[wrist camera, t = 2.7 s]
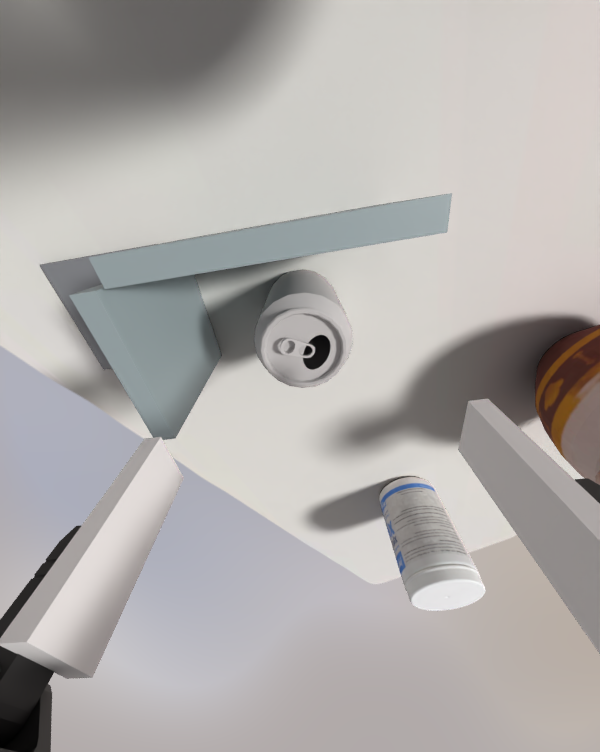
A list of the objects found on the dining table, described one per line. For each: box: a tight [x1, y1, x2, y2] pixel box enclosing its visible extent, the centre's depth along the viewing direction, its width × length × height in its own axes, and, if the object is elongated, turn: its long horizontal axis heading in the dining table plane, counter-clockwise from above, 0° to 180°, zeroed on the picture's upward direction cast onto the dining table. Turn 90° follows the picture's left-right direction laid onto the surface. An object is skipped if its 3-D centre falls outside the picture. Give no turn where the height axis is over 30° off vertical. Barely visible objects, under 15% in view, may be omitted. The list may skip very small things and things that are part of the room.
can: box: [254, 270, 353, 388], centre depth 24 cm, size 8×8×12 cm
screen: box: [69, 193, 452, 440], centre depth 22 cm, size 13×20×14 cm, turn 99°
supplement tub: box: [379, 477, 485, 611], centre depth 39 cm, size 10×10×15 cm
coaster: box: [40, 244, 157, 369], centre depth 29 cm, size 12×12×1 cm
